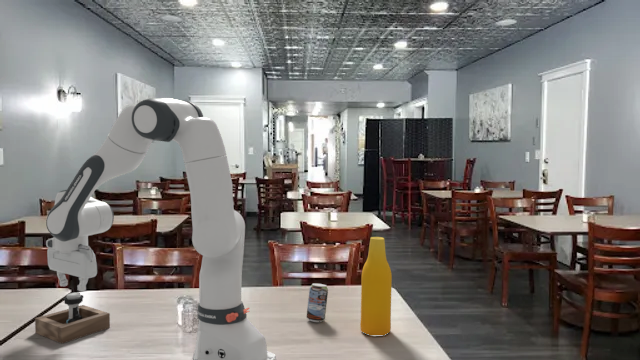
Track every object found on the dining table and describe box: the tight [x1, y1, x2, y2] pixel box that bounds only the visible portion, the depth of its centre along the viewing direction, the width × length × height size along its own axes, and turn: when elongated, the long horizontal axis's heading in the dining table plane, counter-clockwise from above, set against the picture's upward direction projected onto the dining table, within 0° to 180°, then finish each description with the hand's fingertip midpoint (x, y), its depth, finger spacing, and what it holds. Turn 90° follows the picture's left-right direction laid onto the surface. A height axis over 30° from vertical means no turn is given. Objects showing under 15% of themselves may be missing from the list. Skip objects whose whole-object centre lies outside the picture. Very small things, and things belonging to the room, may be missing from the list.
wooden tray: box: [34, 304, 111, 344], centre depth 148 cm, size 14×15×4 cm
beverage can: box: [306, 283, 329, 323], centre depth 159 cm, size 6×7×12 cm
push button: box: [63, 291, 84, 324], centre depth 147 cm, size 7×5×10 cm
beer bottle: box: [359, 236, 393, 335], centre depth 149 cm, size 9×9×29 cm
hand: (72, 288), depth 147 cm, fingers open, 8 cm apart
